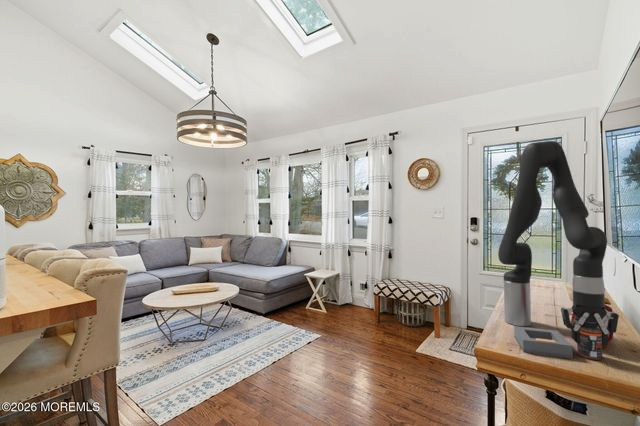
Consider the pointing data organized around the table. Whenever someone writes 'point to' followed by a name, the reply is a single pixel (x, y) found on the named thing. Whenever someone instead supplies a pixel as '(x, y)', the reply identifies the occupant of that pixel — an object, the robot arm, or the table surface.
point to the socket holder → (542, 342)
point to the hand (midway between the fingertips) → (589, 343)
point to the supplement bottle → (590, 341)
